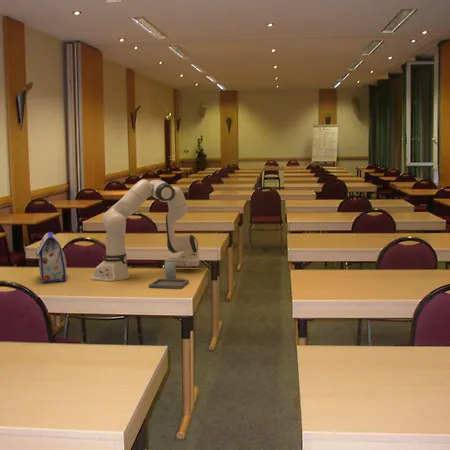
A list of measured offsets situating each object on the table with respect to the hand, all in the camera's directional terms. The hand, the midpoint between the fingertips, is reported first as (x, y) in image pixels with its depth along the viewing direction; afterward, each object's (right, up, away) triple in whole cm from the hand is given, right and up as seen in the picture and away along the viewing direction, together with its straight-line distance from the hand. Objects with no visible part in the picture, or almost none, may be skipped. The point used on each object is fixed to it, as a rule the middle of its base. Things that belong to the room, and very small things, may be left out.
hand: (177, 264), depth 375 cm
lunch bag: (-73, -9, +2) cm, 74 cm away
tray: (-3, -10, -24) cm, 26 cm away
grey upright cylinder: (-3, -8, -11) cm, 14 cm away
